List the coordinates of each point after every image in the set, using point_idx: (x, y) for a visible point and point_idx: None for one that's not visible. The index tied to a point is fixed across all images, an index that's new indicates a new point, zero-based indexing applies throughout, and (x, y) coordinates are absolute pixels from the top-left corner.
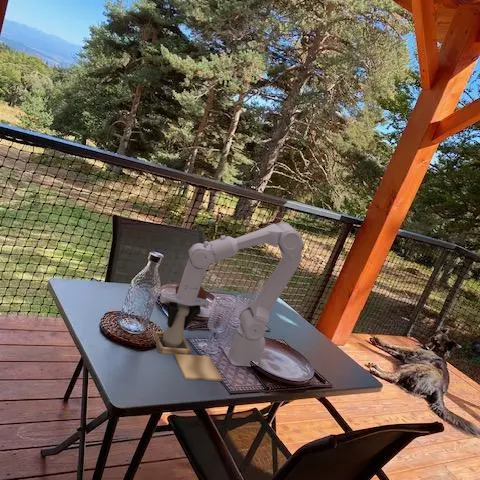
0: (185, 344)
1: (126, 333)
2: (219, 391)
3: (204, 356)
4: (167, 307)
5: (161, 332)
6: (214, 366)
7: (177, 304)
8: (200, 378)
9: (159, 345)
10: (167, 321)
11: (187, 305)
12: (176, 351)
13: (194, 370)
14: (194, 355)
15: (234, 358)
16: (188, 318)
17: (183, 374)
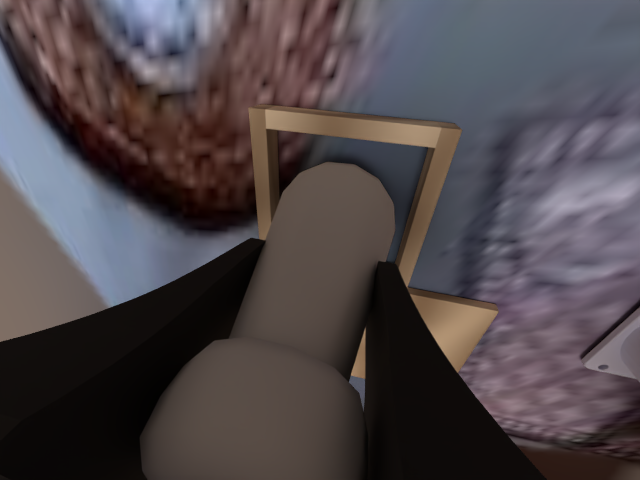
0: (406, 248)
1: (128, 89)
2: None
3: (468, 308)
4: (92, 326)
5: (302, 119)
6: (463, 357)
7: (152, 451)
8: (362, 376)
9: None
10: (237, 246)
11: (399, 469)
12: None
13: (360, 354)
14: (417, 297)
15: (630, 367)
16: (367, 397)
17: None
